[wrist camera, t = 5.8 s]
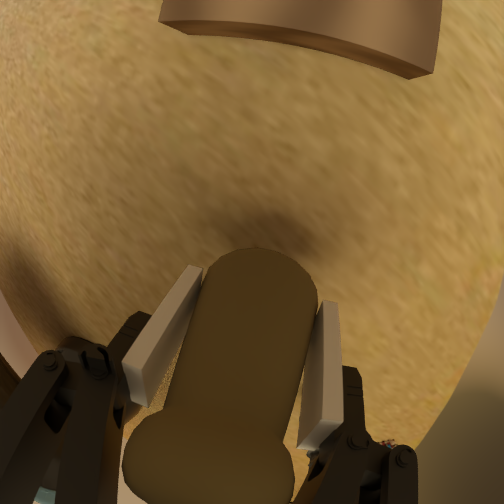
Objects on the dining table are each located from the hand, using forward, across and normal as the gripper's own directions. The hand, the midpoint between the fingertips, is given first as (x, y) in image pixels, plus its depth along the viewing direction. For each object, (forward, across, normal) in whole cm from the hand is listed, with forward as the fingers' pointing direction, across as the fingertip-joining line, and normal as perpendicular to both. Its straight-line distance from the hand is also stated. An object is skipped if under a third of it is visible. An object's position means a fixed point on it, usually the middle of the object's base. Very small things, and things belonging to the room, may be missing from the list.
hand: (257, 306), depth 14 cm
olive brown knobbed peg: (+1, 0, 0) cm, 1 cm away
